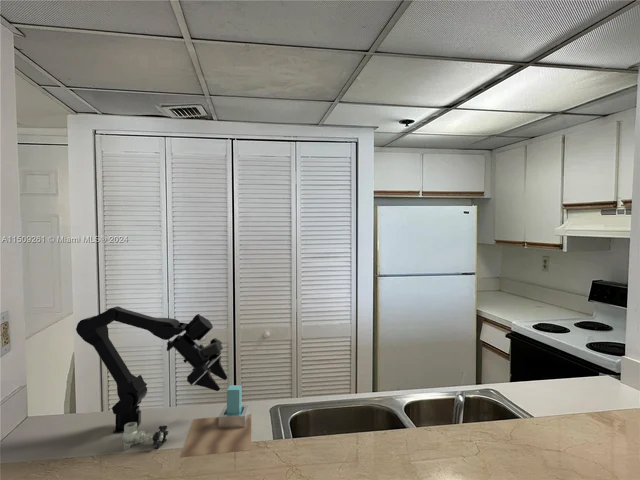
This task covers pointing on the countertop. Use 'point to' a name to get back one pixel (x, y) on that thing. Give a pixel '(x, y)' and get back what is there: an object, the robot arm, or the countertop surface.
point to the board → (216, 438)
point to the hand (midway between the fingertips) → (222, 384)
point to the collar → (233, 418)
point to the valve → (142, 435)
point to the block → (234, 400)
